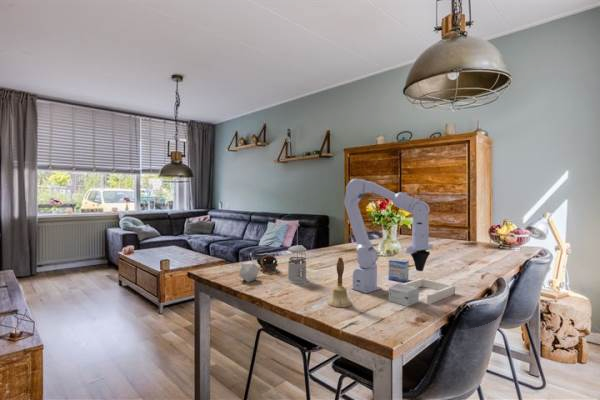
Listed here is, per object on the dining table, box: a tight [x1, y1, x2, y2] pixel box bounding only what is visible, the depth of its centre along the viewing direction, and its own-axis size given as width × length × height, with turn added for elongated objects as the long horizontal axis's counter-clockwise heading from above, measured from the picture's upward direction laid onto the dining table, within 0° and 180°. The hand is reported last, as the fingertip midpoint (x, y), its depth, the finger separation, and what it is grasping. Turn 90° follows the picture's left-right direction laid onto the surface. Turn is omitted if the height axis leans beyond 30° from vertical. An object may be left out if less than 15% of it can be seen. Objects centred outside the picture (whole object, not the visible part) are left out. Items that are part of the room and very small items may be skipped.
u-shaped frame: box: [403, 277, 456, 305], centre depth 125 cm, size 18×14×3 cm
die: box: [238, 261, 260, 283], centre depth 143 cm, size 8×9×10 cm
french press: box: [285, 222, 309, 285], centre depth 143 cm, size 10×12×25 cm
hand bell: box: [327, 257, 353, 308], centre depth 114 cm, size 8×8×16 cm
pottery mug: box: [256, 255, 279, 273], centre depth 160 cm, size 12×10×8 cm
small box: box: [388, 283, 420, 307], centre depth 116 cm, size 8×8×5 cm
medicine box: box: [387, 258, 410, 283], centre depth 144 cm, size 8×4×9 cm, turn 62°
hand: (419, 270), depth 122 cm, fingers closed
